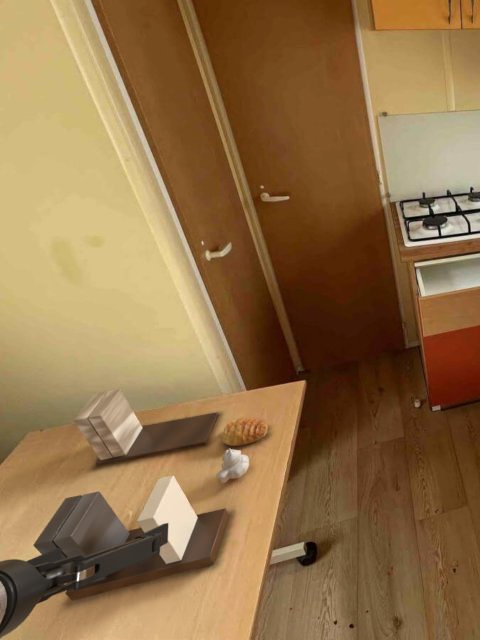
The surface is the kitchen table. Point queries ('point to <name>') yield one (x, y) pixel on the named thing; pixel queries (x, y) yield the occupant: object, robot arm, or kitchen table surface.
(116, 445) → the wooden bookend
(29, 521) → the kitchen table surface
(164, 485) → the white book
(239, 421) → the pastry
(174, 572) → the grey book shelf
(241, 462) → the white garlic bulb
